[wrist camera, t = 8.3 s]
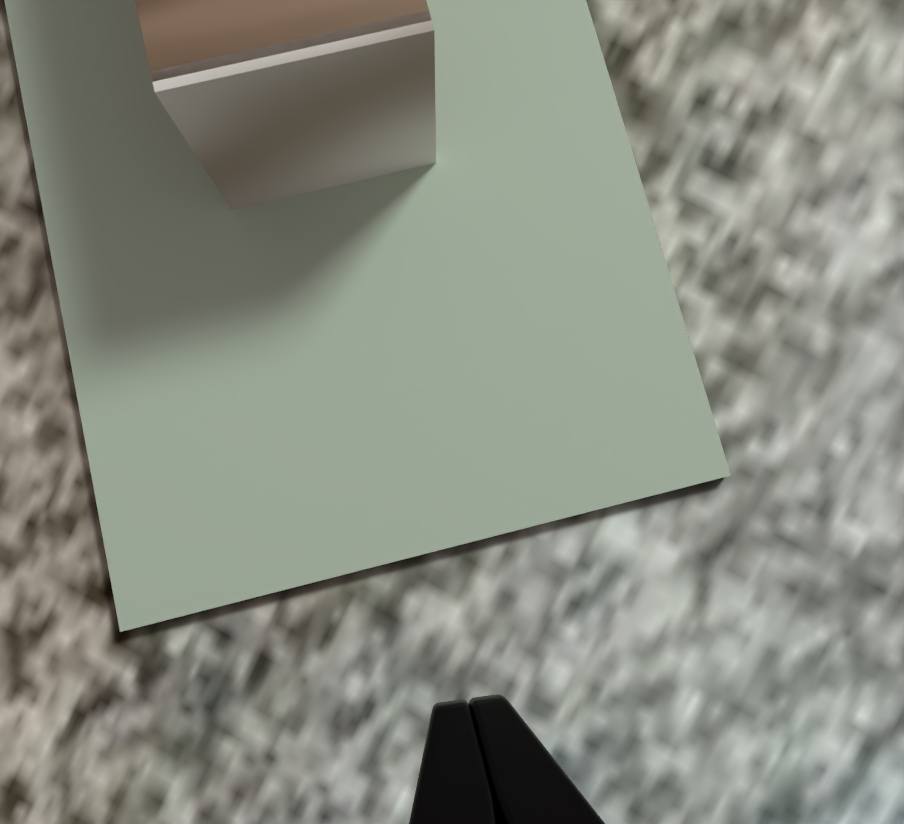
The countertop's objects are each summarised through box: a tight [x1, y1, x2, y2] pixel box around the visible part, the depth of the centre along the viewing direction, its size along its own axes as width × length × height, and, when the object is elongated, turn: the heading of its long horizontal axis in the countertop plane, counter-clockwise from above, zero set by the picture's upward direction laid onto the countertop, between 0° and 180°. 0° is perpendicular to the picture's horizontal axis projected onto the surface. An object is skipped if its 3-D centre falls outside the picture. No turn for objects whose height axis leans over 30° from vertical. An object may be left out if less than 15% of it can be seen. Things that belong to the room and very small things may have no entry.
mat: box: [4, 0, 731, 632], centre depth 19 cm, size 20×14×1 cm
